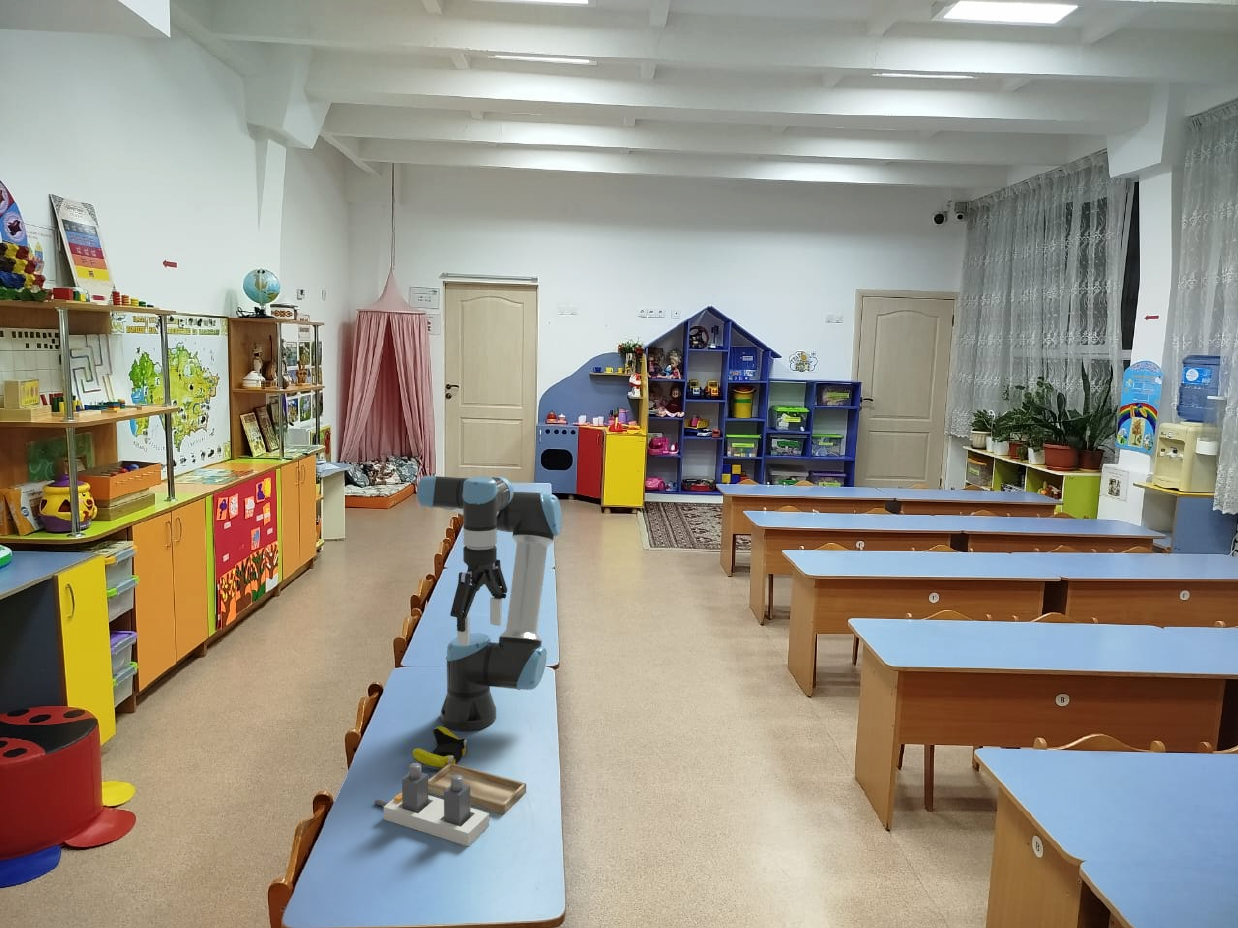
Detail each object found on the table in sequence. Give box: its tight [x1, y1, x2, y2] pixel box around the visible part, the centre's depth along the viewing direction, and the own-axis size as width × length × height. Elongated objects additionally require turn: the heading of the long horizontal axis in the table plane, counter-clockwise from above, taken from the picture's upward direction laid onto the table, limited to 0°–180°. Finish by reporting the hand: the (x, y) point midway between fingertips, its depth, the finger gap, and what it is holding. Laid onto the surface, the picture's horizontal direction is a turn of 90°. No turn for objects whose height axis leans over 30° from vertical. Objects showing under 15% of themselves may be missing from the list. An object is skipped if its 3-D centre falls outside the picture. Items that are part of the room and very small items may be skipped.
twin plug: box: [401, 762, 429, 813], centre depth 183 cm, size 4×4×12 cm
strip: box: [374, 791, 490, 847], centre depth 182 cm, size 8×28×4 cm, turn 66°
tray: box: [428, 763, 527, 815], centre depth 194 cm, size 10×21×2 cm, turn 66°
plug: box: [443, 775, 471, 827], centre depth 179 cm, size 4×4×12 cm
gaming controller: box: [412, 725, 468, 772], centre depth 208 cm, size 15×6×10 cm
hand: (480, 634), depth 193 cm, fingers open, 13 cm apart
